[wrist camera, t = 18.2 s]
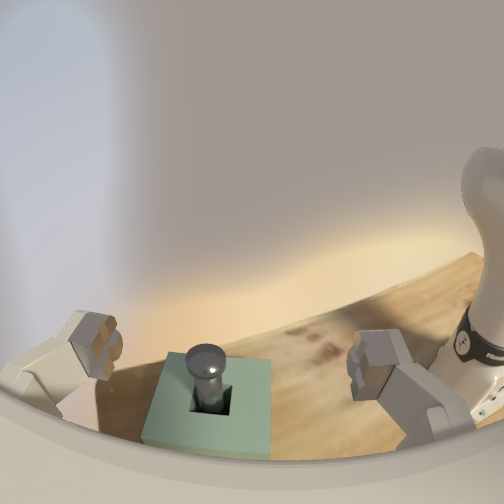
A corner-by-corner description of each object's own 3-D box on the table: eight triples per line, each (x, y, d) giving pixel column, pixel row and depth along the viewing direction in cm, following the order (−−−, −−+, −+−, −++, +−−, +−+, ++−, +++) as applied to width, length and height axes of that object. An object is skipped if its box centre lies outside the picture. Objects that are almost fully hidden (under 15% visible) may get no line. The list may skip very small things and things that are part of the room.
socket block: (268, 384, 43) (271, 359, 41) (266, 469, 30) (270, 452, 27) (174, 376, 44) (168, 351, 41) (152, 456, 30) (140, 437, 28)
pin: (231, 409, 39) (227, 345, 32) (228, 434, 35) (223, 374, 28) (201, 406, 39) (189, 342, 32) (196, 431, 35) (181, 370, 29)
